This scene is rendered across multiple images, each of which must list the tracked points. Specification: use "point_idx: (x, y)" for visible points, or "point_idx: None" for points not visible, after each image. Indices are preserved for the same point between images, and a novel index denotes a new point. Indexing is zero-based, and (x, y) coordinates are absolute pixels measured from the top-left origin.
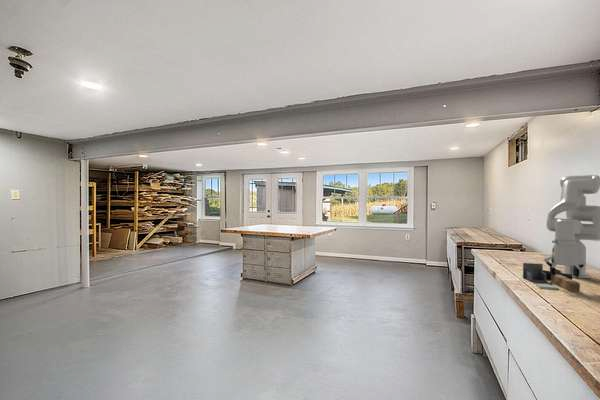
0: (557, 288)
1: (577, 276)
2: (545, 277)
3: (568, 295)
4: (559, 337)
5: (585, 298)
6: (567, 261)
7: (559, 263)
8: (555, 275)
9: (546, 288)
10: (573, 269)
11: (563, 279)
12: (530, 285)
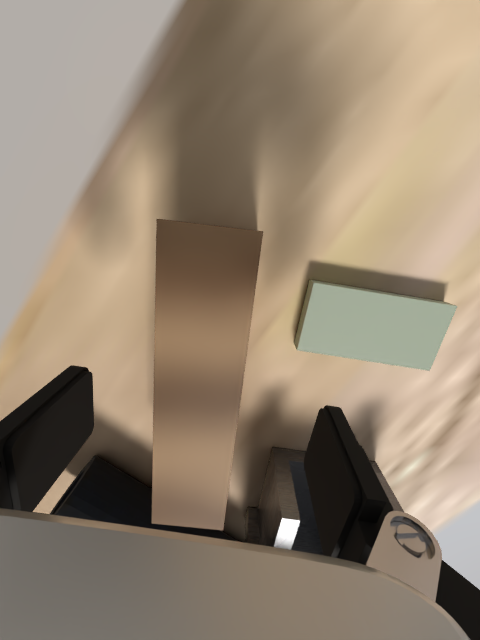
0: (325, 282)
1: (79, 369)
2: (284, 485)
3: (357, 103)
4: None
5: (259, 12)
6: None
7: (381, 609)
8: (218, 489)
9: (401, 295)
10: (34, 504)
11: (244, 357)
12: (456, 372)
